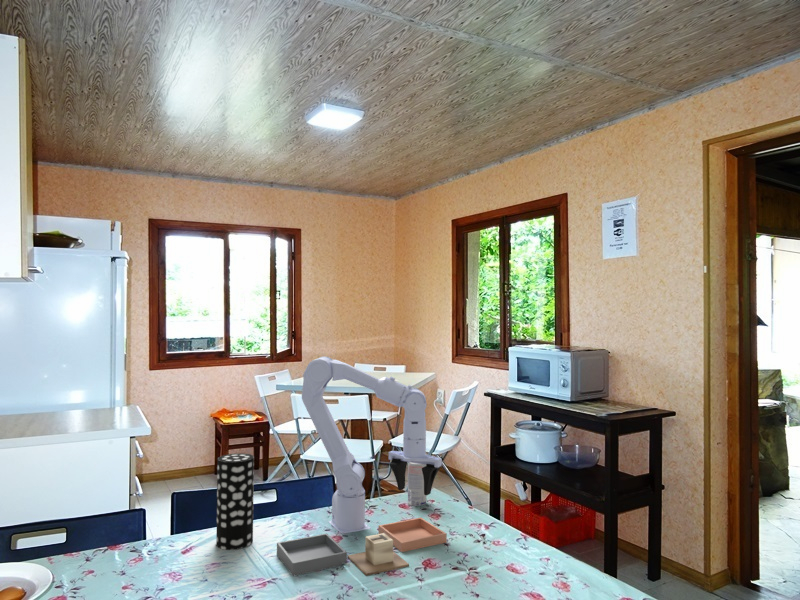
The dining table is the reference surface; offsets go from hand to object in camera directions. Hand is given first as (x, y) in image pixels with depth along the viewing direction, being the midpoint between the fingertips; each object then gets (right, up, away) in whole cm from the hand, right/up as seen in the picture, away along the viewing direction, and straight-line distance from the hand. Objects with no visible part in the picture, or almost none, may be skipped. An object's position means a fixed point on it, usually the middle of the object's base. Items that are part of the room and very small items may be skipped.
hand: (414, 491), depth 144 cm
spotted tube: (-43, -9, -9) cm, 45 cm away
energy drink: (+1, -10, +19) cm, 21 cm away
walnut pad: (-8, -9, -21) cm, 24 cm away
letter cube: (-8, -8, -20) cm, 23 cm away
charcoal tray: (-23, -9, -18) cm, 31 cm away
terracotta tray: (-1, -9, -7) cm, 12 cm away
